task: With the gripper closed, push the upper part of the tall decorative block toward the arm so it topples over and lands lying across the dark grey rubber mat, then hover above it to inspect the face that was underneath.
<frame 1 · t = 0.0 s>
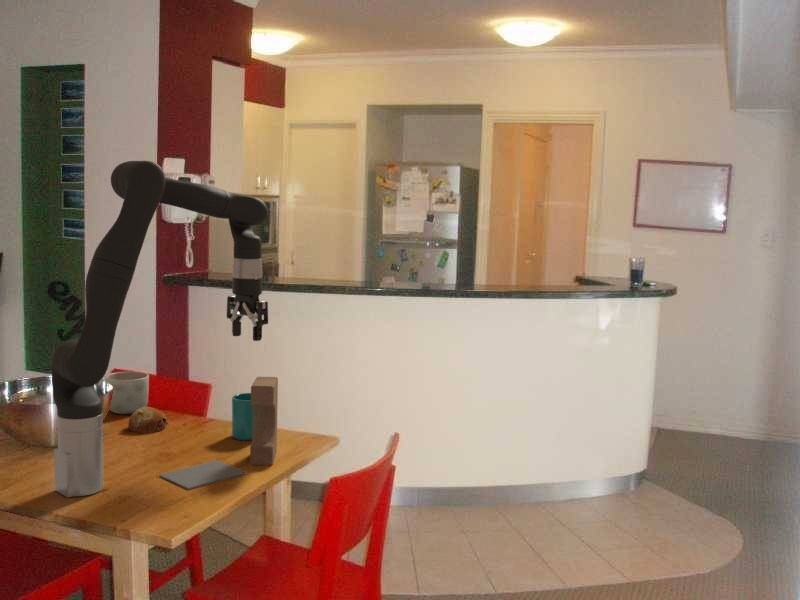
hand: (246, 338, 209), 29 cm above the table, fingers open, 8 cm apart
planter: (127, 411, 245), on the table
decorative block: (263, 459, 204), on the table
mat: (203, 474, 191), on the table
cup: (253, 437, 223), on the table
bread roll: (148, 429, 228), on the table
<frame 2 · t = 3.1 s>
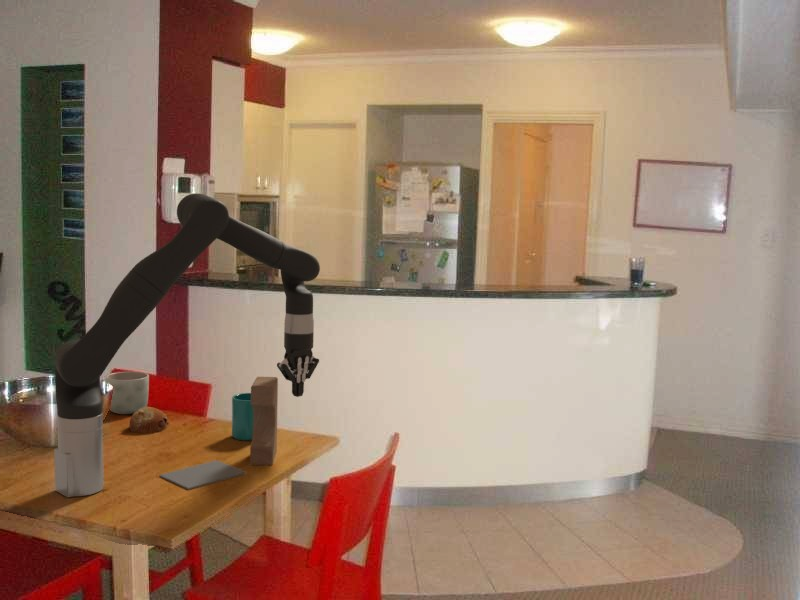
hand: (297, 395, 211), 15 cm above the table, fingers closed
nothing on the table moved.
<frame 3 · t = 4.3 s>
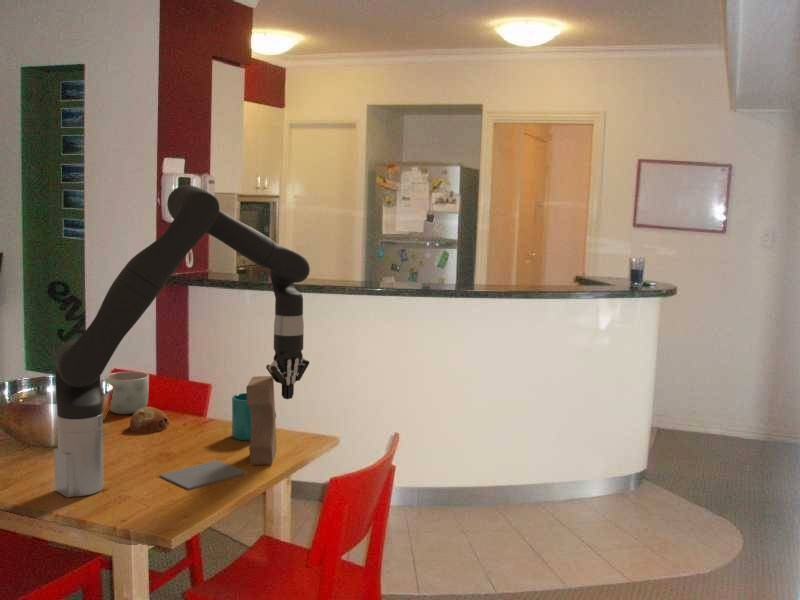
hand: (287, 398, 208), 14 cm above the table, fingers closed
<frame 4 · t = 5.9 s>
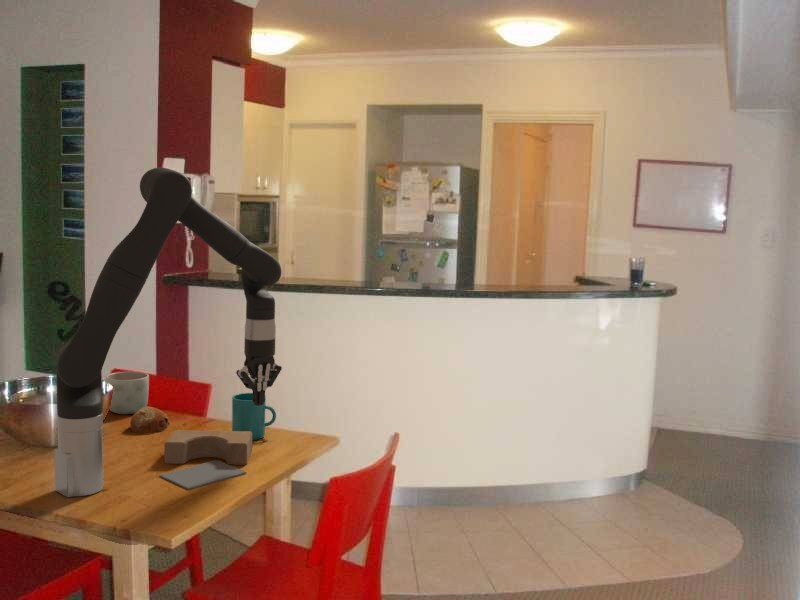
hand: (258, 404, 201), 14 cm above the table, fingers closed
decorative block: (250, 447, 204), point 3 cm above the table
everything else where it was.
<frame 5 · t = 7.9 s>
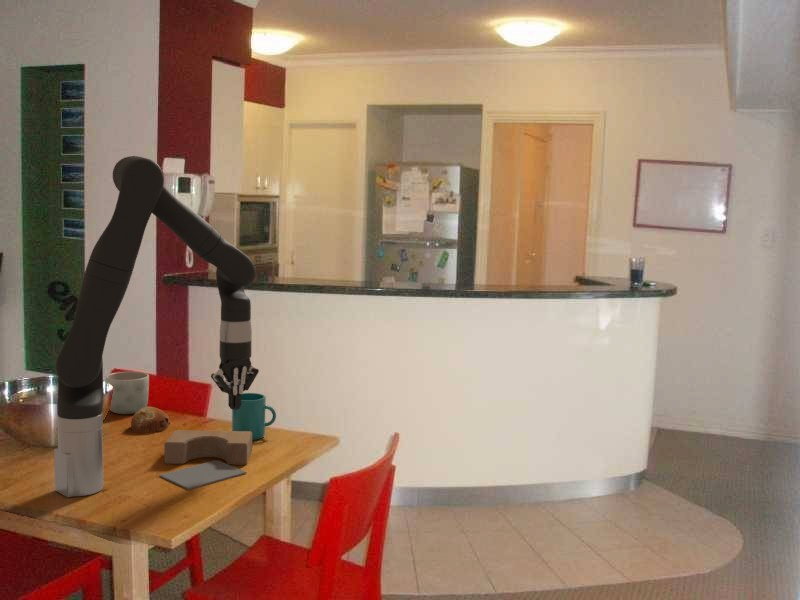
hand: (235, 408, 196), 14 cm above the table, fingers closed
nothing on the table moved.
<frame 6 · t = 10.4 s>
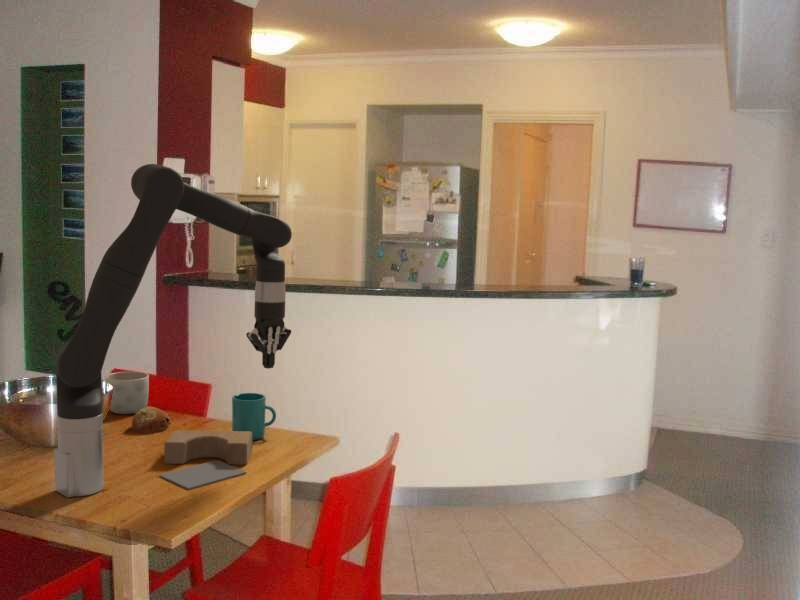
hand: (268, 367, 202), 23 cm above the table, fingers closed
nothing on the table moved.
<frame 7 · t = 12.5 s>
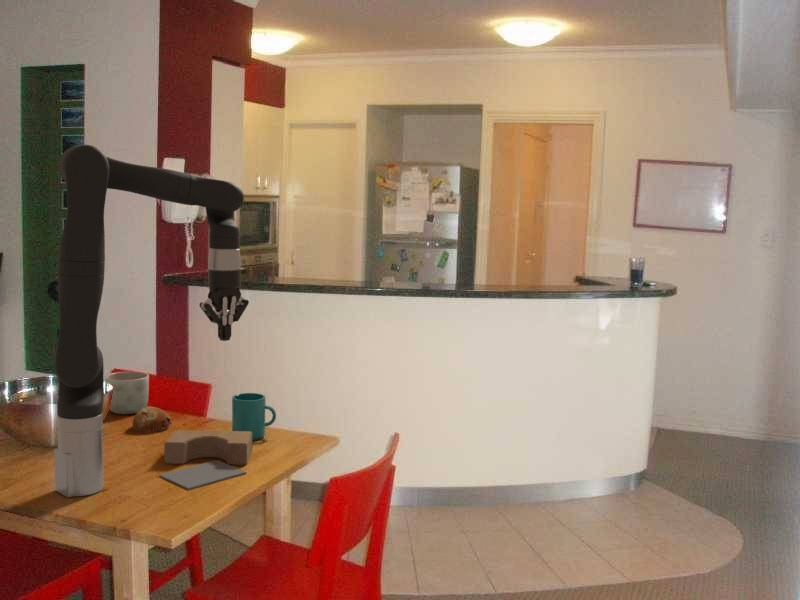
hand: (224, 340, 192), 32 cm above the table, fingers closed
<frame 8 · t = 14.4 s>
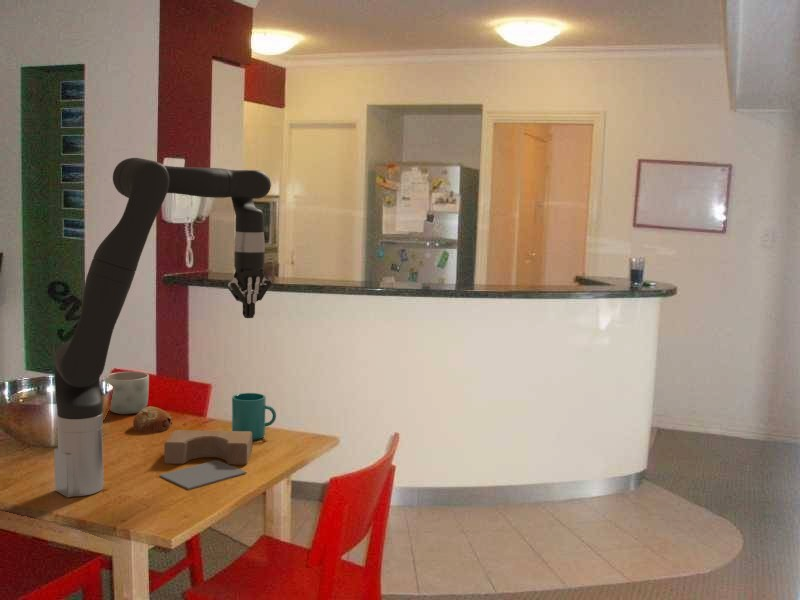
hand: (248, 317, 206), 35 cm above the table, fingers closed
at the end: decorative block tilted 90°; decorative block inside the target area (10.3 cm from its centre), point 2.7 cm above the table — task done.
